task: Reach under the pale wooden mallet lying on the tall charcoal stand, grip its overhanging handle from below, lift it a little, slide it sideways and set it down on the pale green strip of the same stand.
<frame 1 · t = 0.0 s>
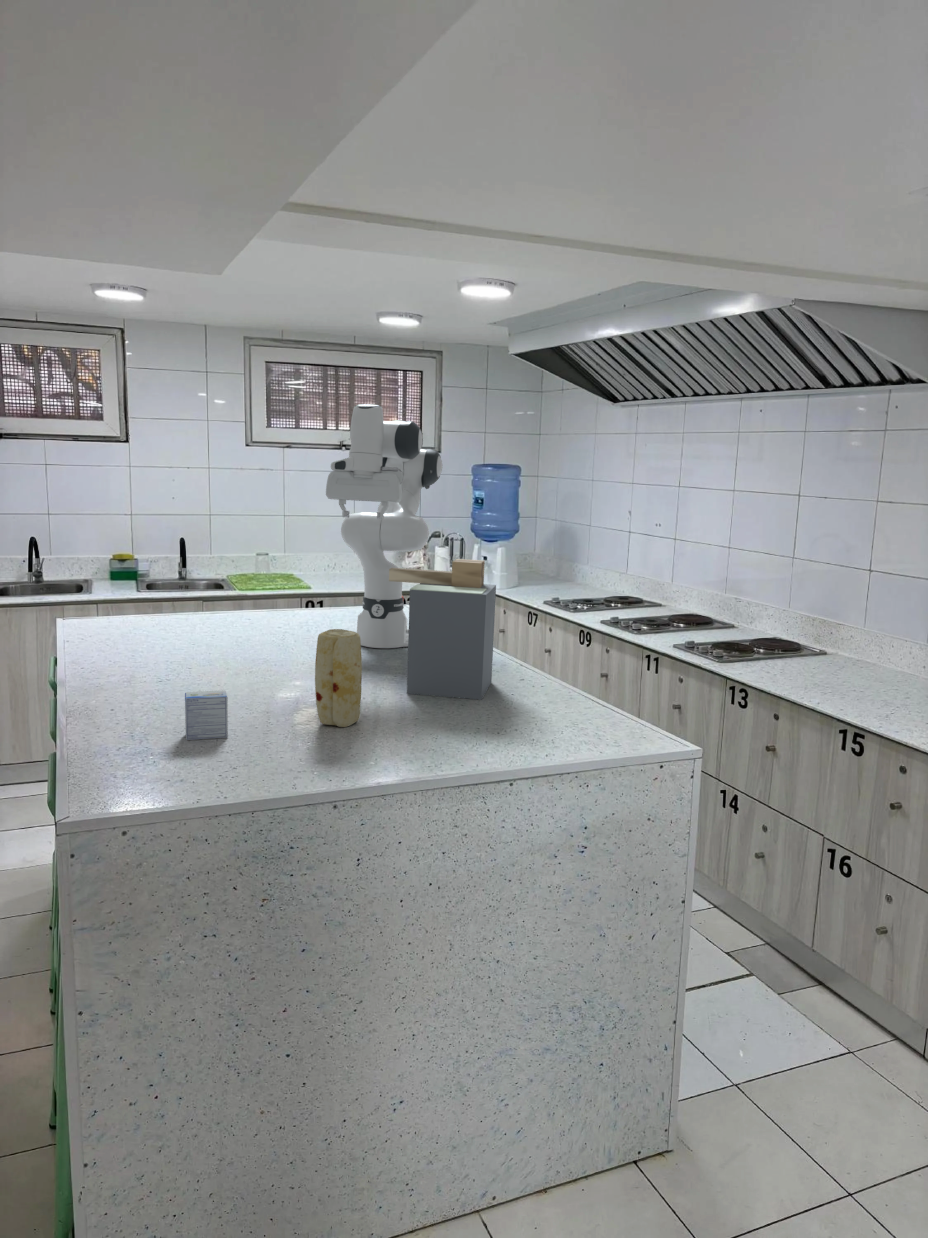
hand: (362, 518, 234), 39 cm above the countertop, tool pointing down, fingers open, 8 cm apart
food model: (338, 725, 184), on the countertop
medicine box: (206, 737, 173), on the countertop
mallet: (437, 583, 217), point 25 cm above the countertop, touching stand
stand: (450, 687, 216), on the countertop
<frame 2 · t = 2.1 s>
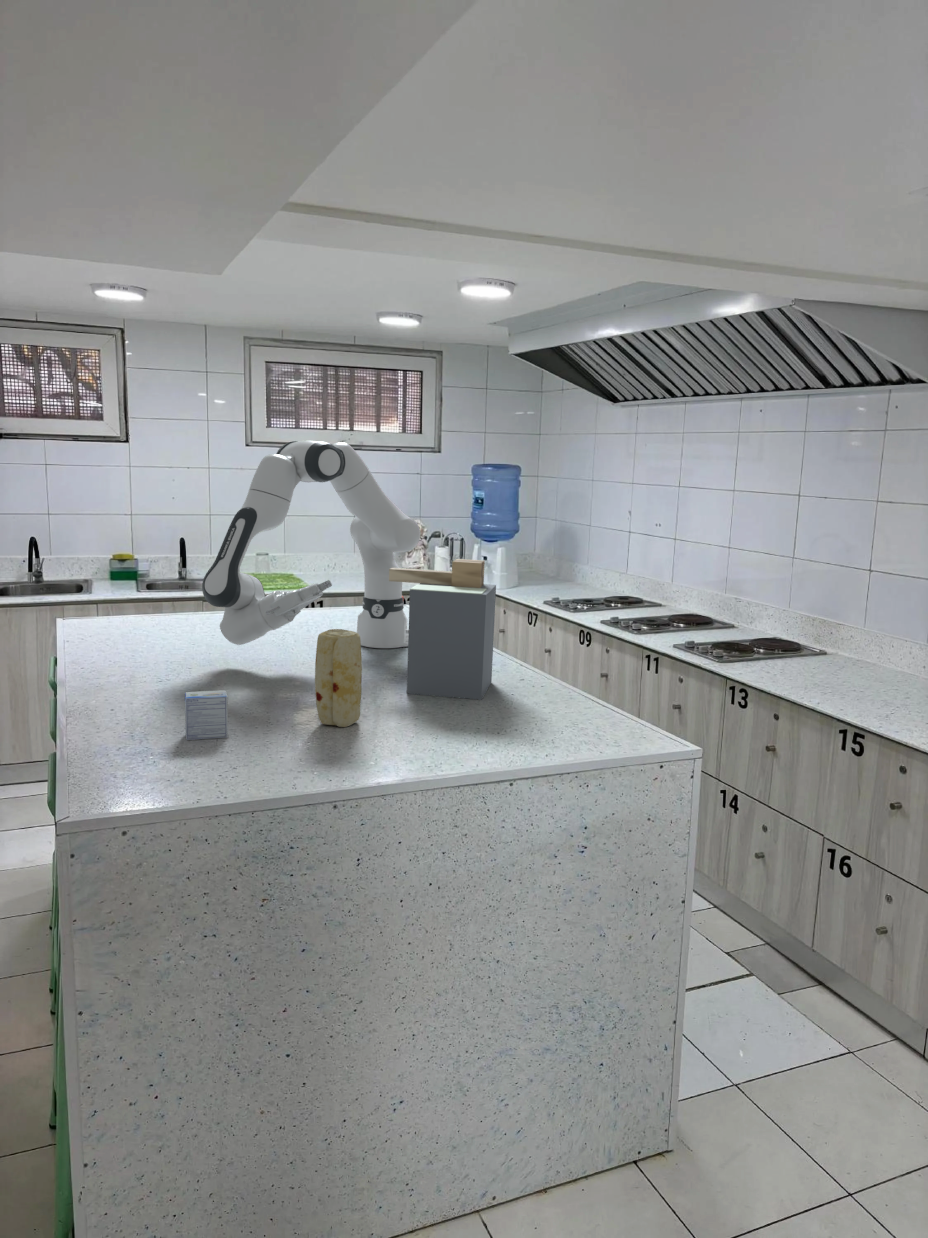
hand: (324, 585, 222), 23 cm above the countertop, tool pointing upward, fingers open, 8 cm apart
nothing on the countertop moved.
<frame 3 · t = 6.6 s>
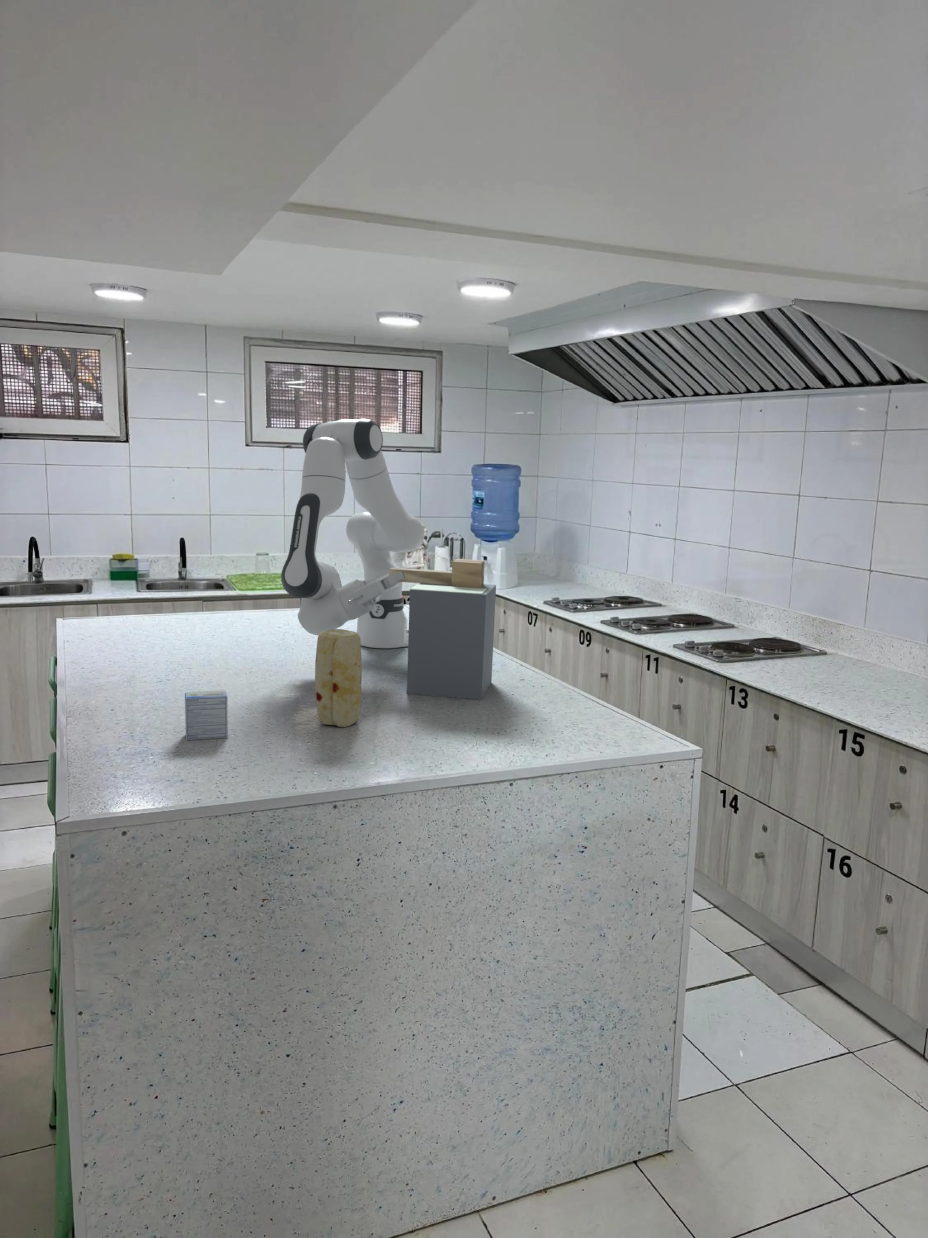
hand: (405, 573, 218), 27 cm above the countertop, tool pointing upward, fingers closed on mallet, 3 cm apart
mallet: (437, 583, 217), point 25 cm above the countertop, touching gripper, stand
everything else where it was.
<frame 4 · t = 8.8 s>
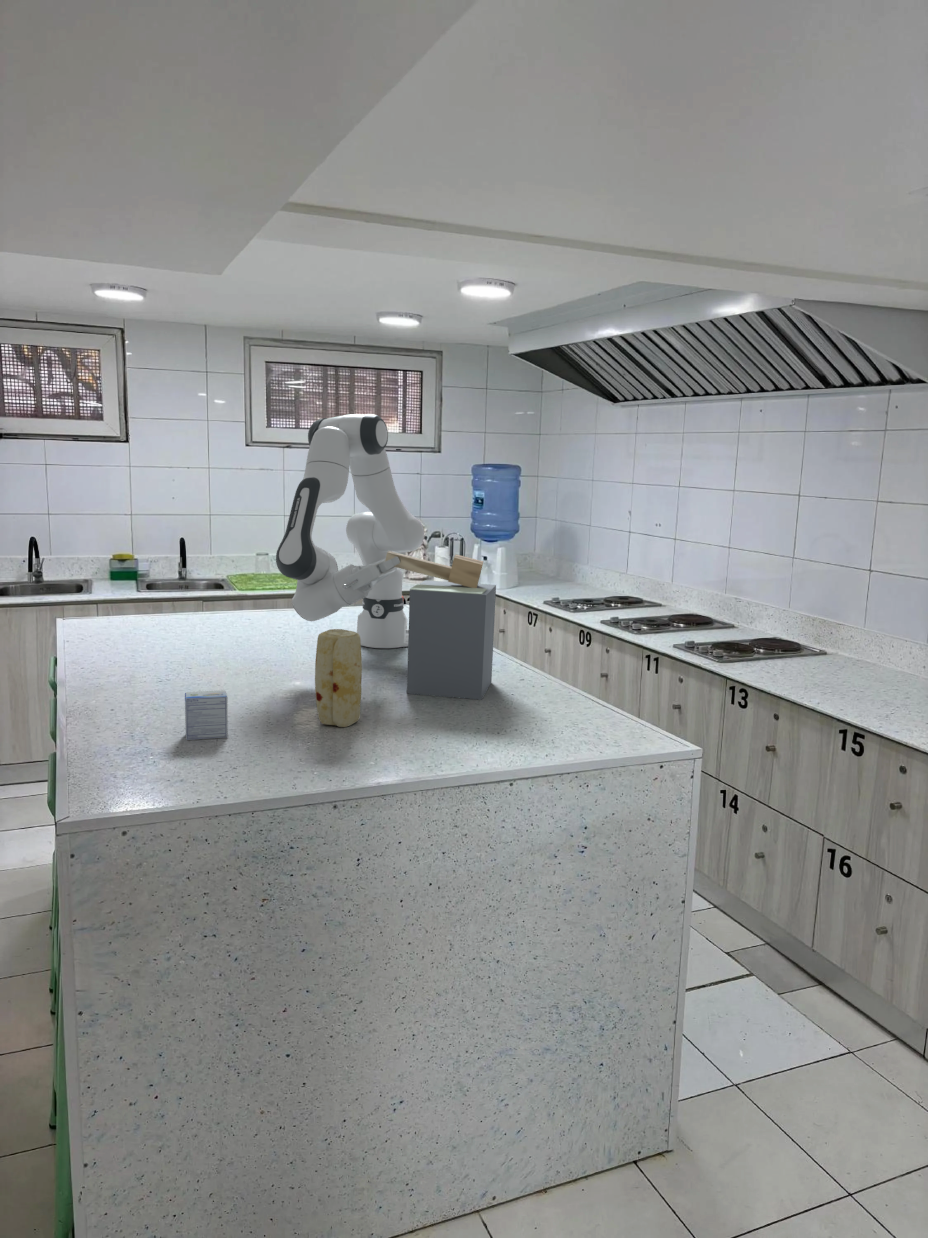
hand: (401, 558, 213), 31 cm above the countertop, tool pointing upward, fingers closed on mallet, 3 cm apart
mallet: (433, 575, 214), point 27 cm above the countertop, tilted 12°, touching gripper, stand
everything else where it was.
when the fingers open (28 cm above the countertop, at t = 10.9 s): mallet stays where it is, resting on stand.
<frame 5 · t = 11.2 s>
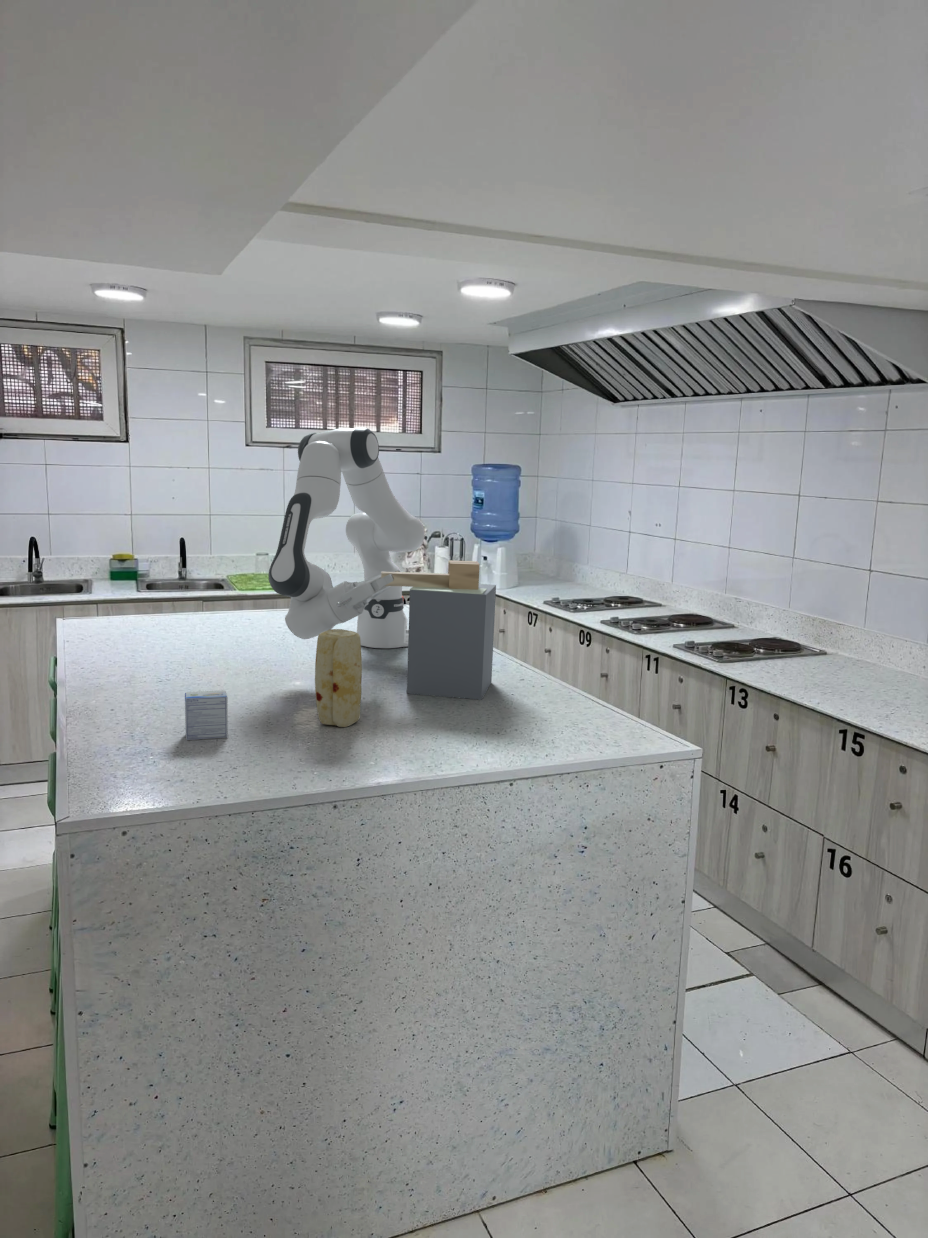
hand: (396, 574, 209), 28 cm above the countertop, tool pointing upward, fingers open, 6 cm apart
mallet: (431, 586, 210), point 25 cm above the countertop, touching stand
everything else where it was.
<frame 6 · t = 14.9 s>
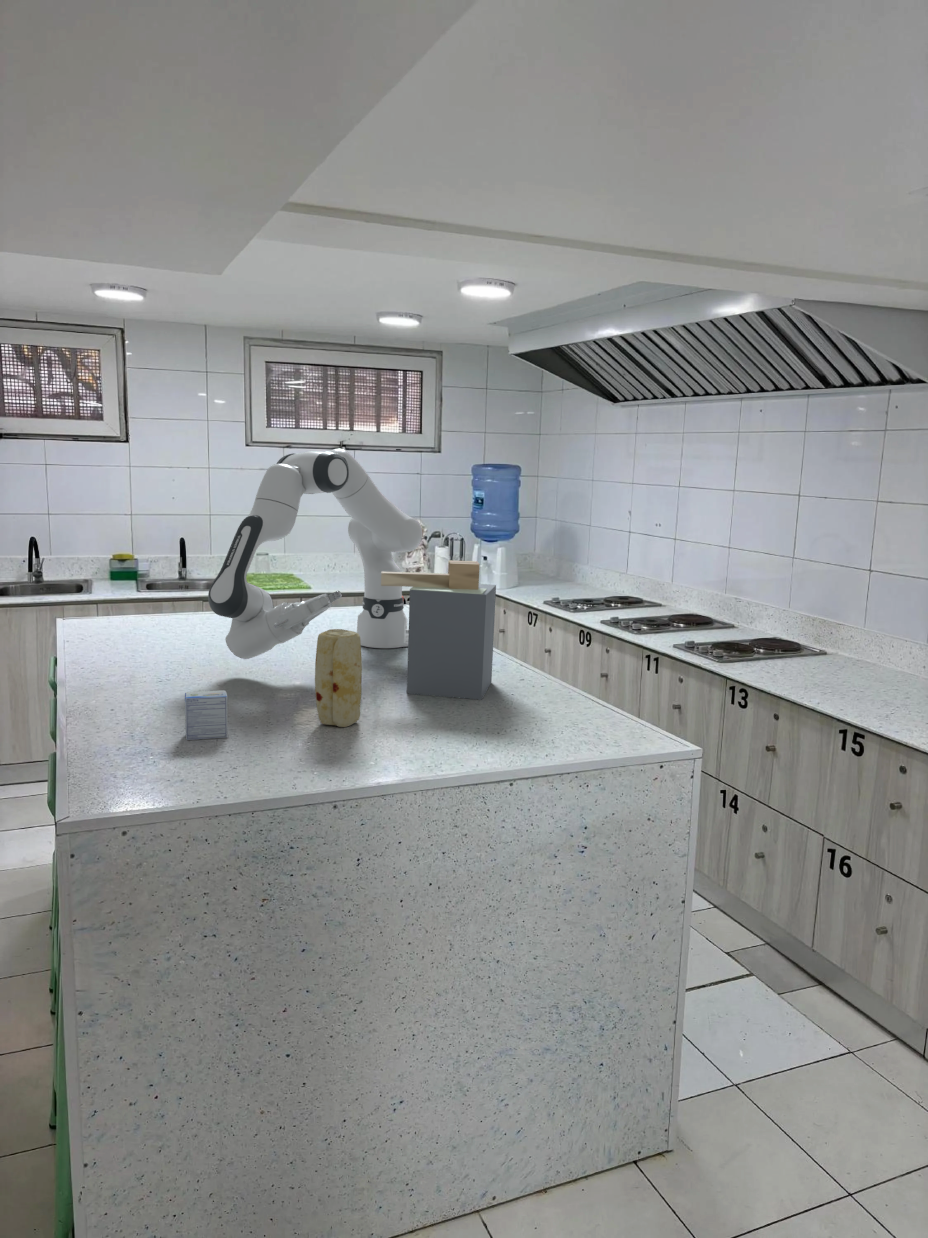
hand: (334, 596, 213), 22 cm above the countertop, tool pointing upward, fingers open, 8 cm apart
nothing on the countertop moved.
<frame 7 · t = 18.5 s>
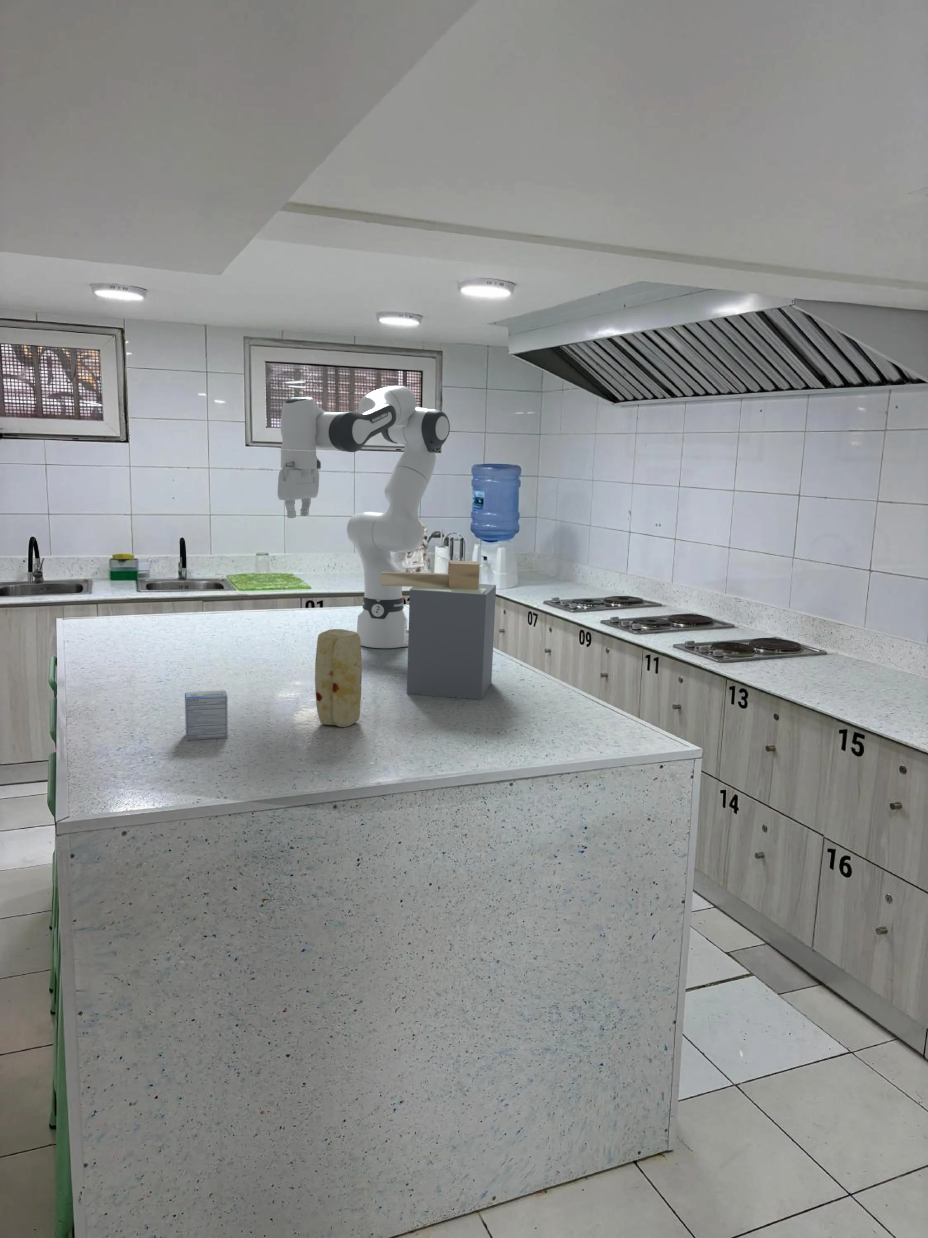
hand: (298, 516, 225), 39 cm above the countertop, tool pointing down, fingers open, 8 cm apart
nothing on the countertop moved.
at the end: mallet 2.1 cm from the target spot, point 25.2 cm above the countertop; mallet tilted 0°; the gripper is holding nothing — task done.
